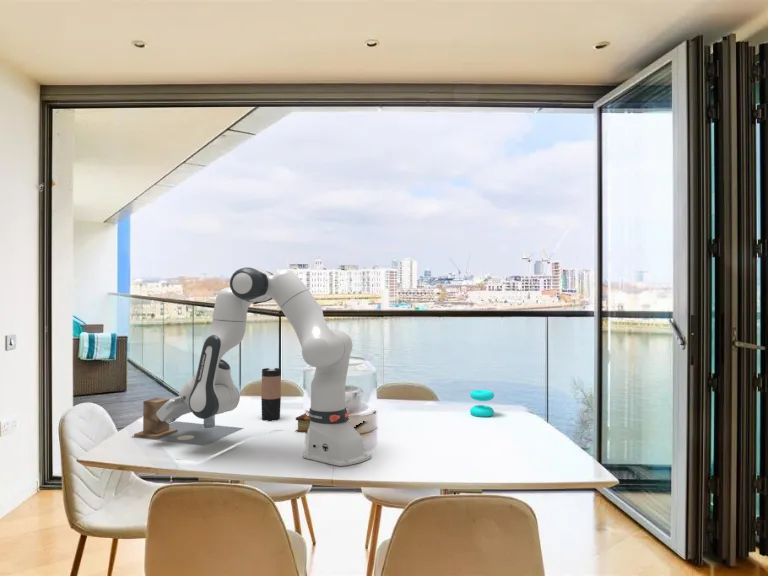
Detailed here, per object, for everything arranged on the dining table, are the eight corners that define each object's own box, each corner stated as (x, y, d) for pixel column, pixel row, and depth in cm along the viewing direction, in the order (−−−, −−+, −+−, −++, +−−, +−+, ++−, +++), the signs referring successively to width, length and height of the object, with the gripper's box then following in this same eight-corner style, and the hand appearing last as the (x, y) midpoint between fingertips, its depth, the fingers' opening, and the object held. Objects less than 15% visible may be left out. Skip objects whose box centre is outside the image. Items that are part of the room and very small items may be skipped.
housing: (177, 432, 197) (177, 398, 197) (158, 439, 187) (158, 404, 187) (154, 429, 200) (154, 396, 200) (134, 436, 190) (134, 401, 190)
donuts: (495, 390, 237) (492, 394, 227) (495, 413, 237) (492, 418, 227) (472, 388, 240) (468, 392, 230) (472, 411, 240) (468, 416, 230)
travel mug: (270, 422, 217) (270, 371, 217) (257, 419, 221) (257, 369, 221) (284, 418, 223) (285, 369, 223) (271, 415, 227) (272, 367, 227)
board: (244, 430, 203) (244, 428, 203) (204, 448, 181) (204, 445, 181) (176, 423, 212) (176, 421, 212) (129, 440, 190) (129, 437, 190)
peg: (216, 426, 204) (217, 399, 204) (206, 428, 202) (207, 401, 202) (211, 425, 207) (211, 398, 207) (201, 426, 204) (201, 399, 204)
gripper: (178, 407, 178) (153, 435, 181) (216, 396, 198) (193, 421, 200) (167, 392, 180) (142, 421, 182) (205, 383, 199) (182, 408, 202)
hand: (169, 421), depth 192 cm, fingers closed
